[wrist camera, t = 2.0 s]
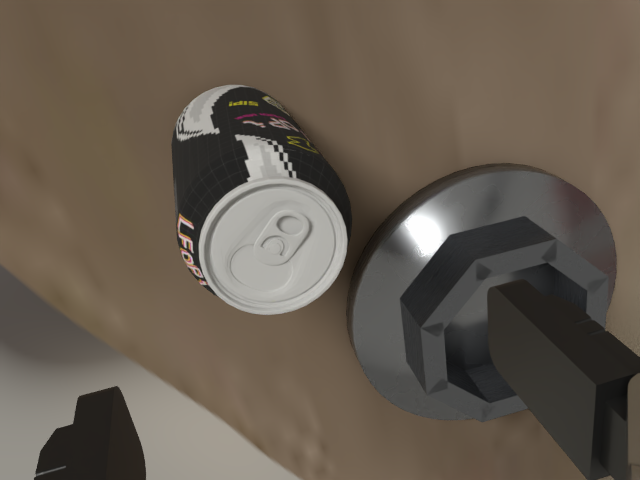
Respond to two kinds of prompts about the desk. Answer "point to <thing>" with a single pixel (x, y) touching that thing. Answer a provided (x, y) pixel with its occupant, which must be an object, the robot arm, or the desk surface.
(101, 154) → the desk surface
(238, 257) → the beverage can
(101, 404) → the robot arm
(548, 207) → the rosette socket
